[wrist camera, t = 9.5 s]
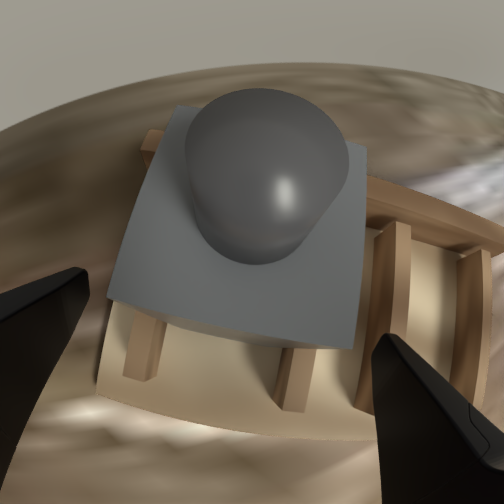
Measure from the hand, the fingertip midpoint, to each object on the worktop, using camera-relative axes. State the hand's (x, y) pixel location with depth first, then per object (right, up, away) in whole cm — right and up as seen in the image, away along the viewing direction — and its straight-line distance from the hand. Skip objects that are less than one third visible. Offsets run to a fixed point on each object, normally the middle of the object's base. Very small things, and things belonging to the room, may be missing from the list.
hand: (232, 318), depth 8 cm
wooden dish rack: (+5, -2, +8) cm, 10 cm away
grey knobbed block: (0, 0, +7) cm, 7 cm away
